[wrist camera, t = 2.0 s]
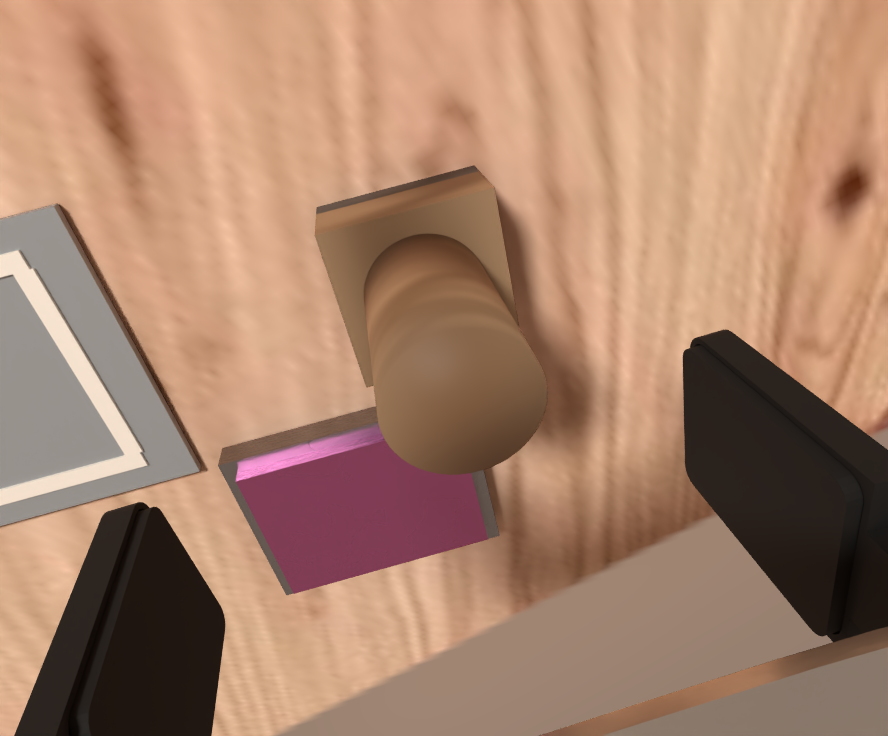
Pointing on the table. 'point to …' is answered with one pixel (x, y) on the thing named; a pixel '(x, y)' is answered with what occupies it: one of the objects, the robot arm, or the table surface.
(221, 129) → the table surface
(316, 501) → the ink pad
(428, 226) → the stamp
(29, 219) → the marked card
